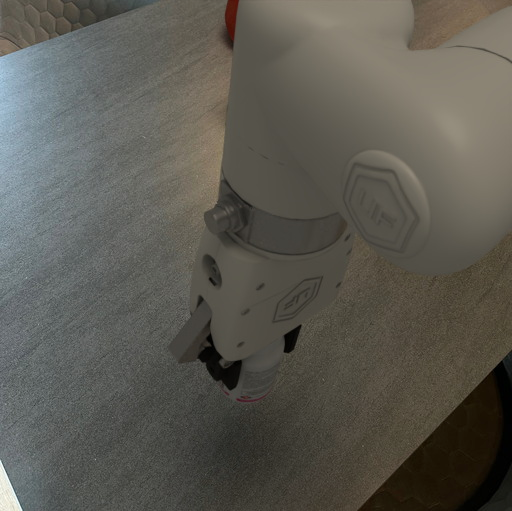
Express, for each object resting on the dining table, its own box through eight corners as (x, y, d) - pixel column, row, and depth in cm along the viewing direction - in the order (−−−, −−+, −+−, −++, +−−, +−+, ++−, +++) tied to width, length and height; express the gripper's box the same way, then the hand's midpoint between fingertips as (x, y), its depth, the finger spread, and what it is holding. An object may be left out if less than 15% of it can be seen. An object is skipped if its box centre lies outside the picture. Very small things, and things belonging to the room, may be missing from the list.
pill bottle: (282, 367, 53) (300, 312, 46) (259, 415, 50) (275, 362, 43) (231, 344, 53) (241, 286, 47) (206, 389, 50) (213, 334, 44)
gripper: (198, 310, 29) (186, 457, 43) (436, 177, 37) (360, 338, 51) (115, 209, 32) (129, 376, 47) (350, 106, 40) (301, 276, 54)
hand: (250, 355), depth 49 cm, fingers closed on pill bottle, 4 cm apart
